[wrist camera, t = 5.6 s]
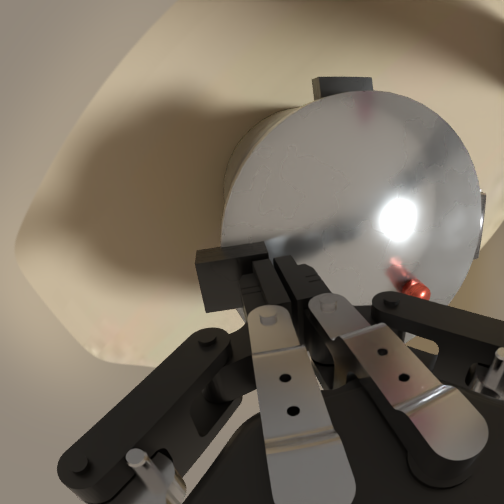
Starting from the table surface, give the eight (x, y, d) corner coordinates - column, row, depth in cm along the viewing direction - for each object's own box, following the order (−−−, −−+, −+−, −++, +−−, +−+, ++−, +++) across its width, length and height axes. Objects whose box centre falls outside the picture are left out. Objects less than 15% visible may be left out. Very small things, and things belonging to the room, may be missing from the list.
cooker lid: (477, 100, 14) (506, 103, 11) (456, 319, 20) (475, 338, 18) (175, 108, 13) (166, 105, 11) (226, 373, 19) (228, 404, 17)
